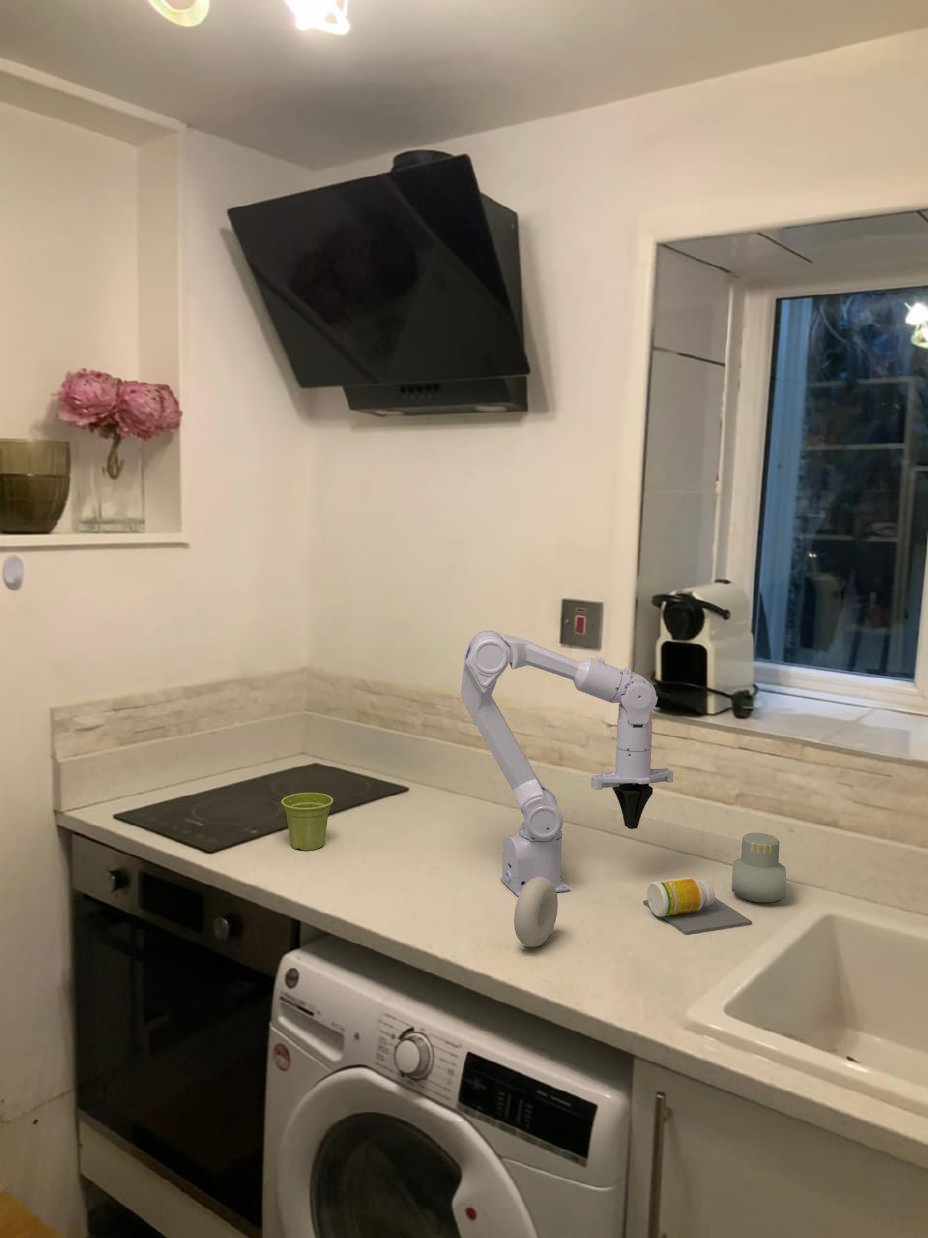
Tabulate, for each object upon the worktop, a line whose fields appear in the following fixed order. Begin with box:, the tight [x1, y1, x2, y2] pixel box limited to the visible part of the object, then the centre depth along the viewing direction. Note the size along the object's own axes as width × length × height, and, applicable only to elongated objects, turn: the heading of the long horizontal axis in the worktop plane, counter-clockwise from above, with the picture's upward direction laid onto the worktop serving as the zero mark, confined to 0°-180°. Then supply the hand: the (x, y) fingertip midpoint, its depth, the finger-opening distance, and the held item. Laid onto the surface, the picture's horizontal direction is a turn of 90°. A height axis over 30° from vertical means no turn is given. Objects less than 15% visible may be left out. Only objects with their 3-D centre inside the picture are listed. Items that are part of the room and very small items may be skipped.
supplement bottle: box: [646, 876, 716, 918], centre depth 152 cm, size 5×5×10 cm
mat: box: [642, 897, 753, 936], centre depth 153 cm, size 12×12×1 cm
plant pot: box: [281, 792, 334, 852], centre depth 179 cm, size 9×9×9 cm
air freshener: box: [731, 832, 787, 904], centre depth 161 cm, size 11×8×10 cm
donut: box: [513, 877, 559, 948], centre depth 141 cm, size 10×4×10 cm, turn 149°
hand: (630, 827), depth 162 cm, fingers closed
